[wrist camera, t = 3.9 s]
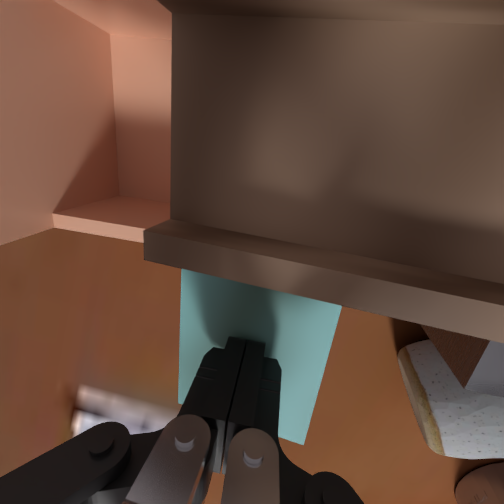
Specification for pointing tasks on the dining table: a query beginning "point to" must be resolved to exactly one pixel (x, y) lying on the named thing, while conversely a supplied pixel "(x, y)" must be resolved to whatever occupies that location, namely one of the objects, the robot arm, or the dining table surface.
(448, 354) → the pivot stand
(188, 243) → the lever board
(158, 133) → the cup
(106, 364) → the dining table surface
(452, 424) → the ceramic mug
